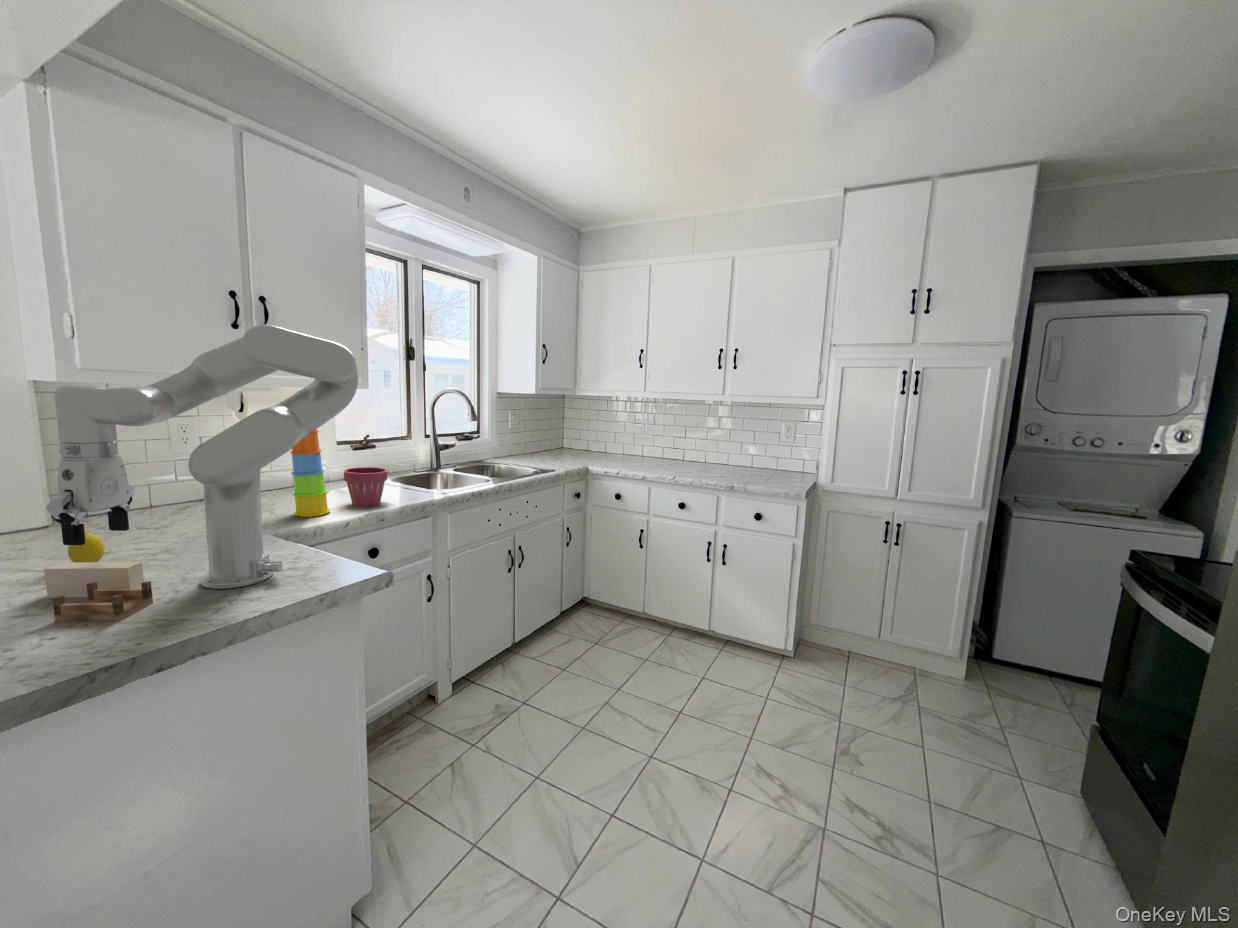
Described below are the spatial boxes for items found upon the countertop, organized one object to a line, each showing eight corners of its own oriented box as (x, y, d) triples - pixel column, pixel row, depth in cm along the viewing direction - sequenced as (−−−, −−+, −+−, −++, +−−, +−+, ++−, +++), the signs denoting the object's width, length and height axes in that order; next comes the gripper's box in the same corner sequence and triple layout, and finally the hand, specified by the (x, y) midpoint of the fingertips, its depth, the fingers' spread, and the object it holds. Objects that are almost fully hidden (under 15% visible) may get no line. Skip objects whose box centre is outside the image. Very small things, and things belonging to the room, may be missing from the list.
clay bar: (144, 589, 100) (142, 561, 99) (130, 596, 96) (127, 567, 96) (64, 591, 98) (61, 562, 97) (47, 598, 94) (44, 568, 93)
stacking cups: (308, 519, 156) (304, 410, 151) (286, 514, 159) (281, 409, 154) (337, 512, 165) (333, 410, 161) (315, 508, 169) (311, 408, 164)
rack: (153, 602, 94) (151, 581, 93) (120, 620, 87) (118, 597, 86) (93, 603, 92) (91, 581, 92) (55, 621, 85) (52, 598, 85)
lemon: (104, 561, 113) (101, 527, 112) (107, 567, 110) (103, 533, 109) (69, 566, 109) (65, 532, 108) (70, 573, 106) (66, 537, 105)
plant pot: (396, 503, 181) (395, 469, 179) (359, 510, 169) (358, 474, 167) (373, 498, 188) (372, 465, 187) (336, 504, 176) (335, 469, 175)
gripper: (69, 457, 85) (78, 551, 88) (148, 446, 102) (154, 525, 105) (19, 455, 84) (29, 551, 86) (107, 445, 101) (114, 525, 103)
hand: (98, 537), depth 95 cm, fingers open, 9 cm apart
